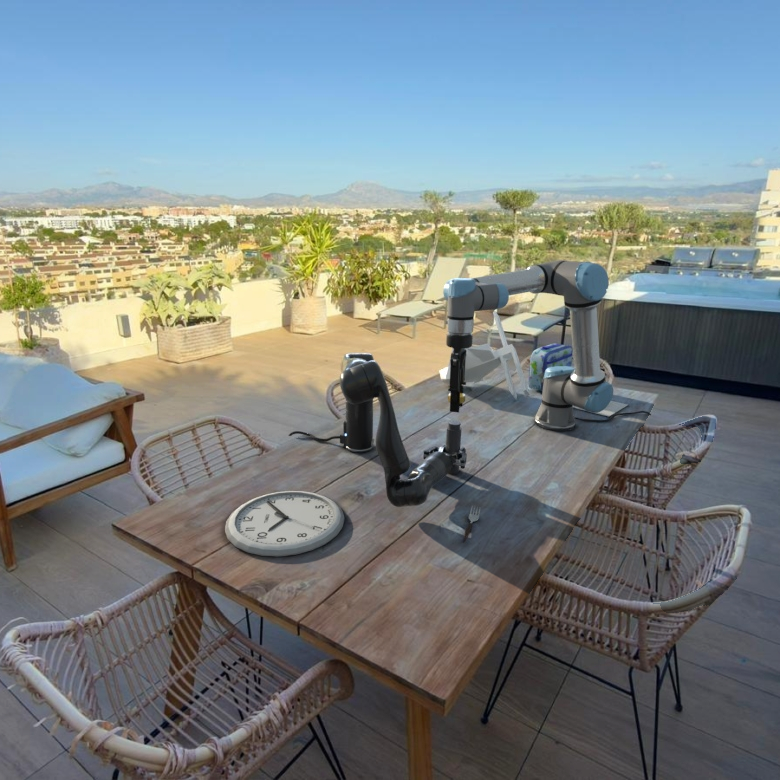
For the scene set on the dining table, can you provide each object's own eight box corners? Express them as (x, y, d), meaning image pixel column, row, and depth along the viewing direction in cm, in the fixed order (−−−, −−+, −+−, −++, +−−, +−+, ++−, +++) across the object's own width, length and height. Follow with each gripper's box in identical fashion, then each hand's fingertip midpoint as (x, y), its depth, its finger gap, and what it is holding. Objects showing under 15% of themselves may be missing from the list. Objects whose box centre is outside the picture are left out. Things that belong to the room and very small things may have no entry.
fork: (457, 543, 126) (458, 536, 126) (471, 511, 141) (471, 504, 140) (468, 545, 125) (468, 538, 125) (480, 513, 140) (481, 506, 139)
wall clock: (344, 547, 121) (211, 552, 118) (344, 554, 121) (212, 558, 119) (344, 486, 149) (237, 489, 147) (344, 491, 150) (237, 494, 147)
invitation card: (608, 416, 214) (573, 407, 224) (608, 416, 214) (573, 408, 224) (628, 404, 229) (594, 396, 238) (628, 405, 229) (594, 397, 238)
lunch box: (544, 395, 239) (549, 351, 233) (524, 390, 247) (528, 347, 240) (571, 384, 257) (577, 343, 251) (552, 380, 264) (556, 339, 258)
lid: (467, 399, 159) (468, 393, 158) (461, 404, 154) (461, 398, 154) (452, 397, 161) (452, 391, 160) (445, 401, 157) (445, 395, 156)
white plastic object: (461, 429, 252) (437, 405, 227) (444, 352, 274) (420, 323, 250) (535, 404, 240) (518, 377, 215) (510, 326, 262) (492, 293, 237)
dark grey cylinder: (452, 475, 161) (454, 426, 157) (441, 470, 165) (444, 422, 160) (461, 471, 164) (464, 423, 159) (451, 466, 167) (454, 419, 163)
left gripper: (457, 462, 146) (478, 442, 160) (411, 451, 153) (435, 432, 167) (455, 486, 148) (476, 464, 163) (411, 474, 155) (434, 454, 169)
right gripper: (452, 326, 161) (449, 398, 168) (440, 338, 144) (437, 417, 151) (477, 328, 158) (473, 400, 166) (467, 340, 142) (463, 420, 149)
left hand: (456, 448), depth 165 cm, fingers closed on dark grey cylinder, 4 cm apart
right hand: (456, 408), depth 158 cm, fingers closed on lid, 5 cm apart
